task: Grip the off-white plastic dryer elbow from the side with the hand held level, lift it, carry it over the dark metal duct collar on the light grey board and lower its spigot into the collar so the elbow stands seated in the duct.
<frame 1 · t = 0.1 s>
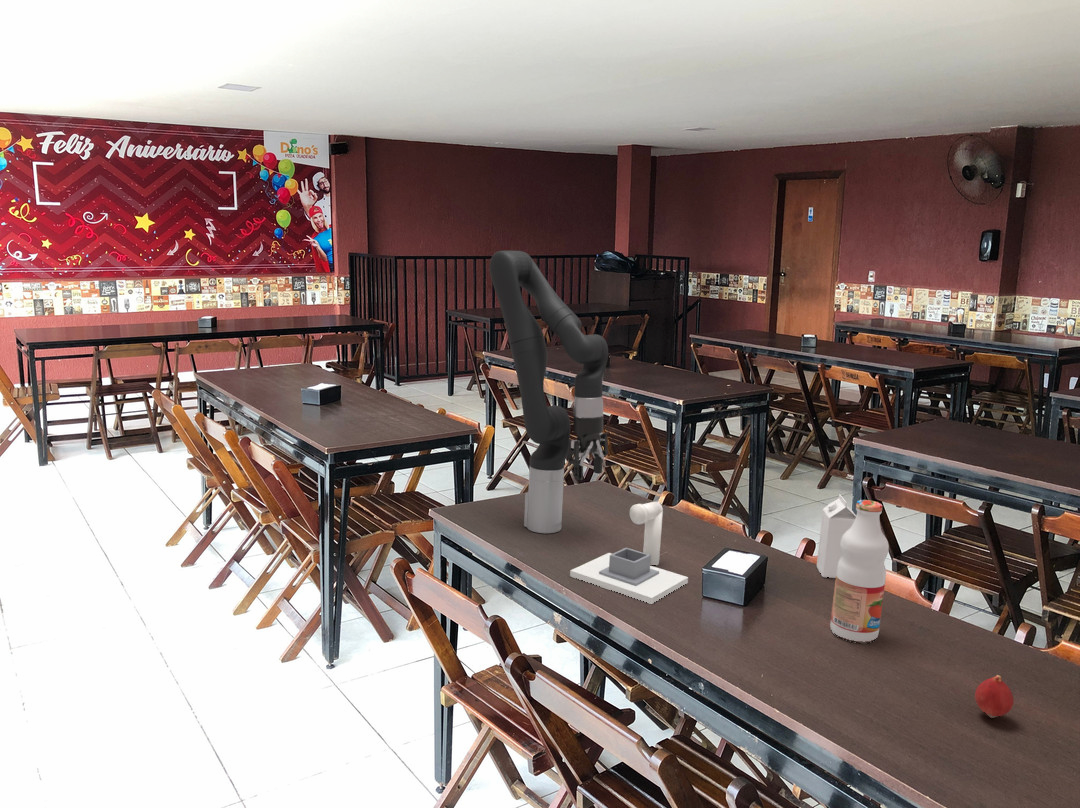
hand: (588, 476, 223), 17 cm above the table, tool pointing down, fingers open, 8 cm apart
fruit juice: (853, 634, 179), on the table
milk carton: (834, 574, 211), on the table
onion: (990, 718, 149), on the table
elbow: (650, 562, 213), on the table
duct: (628, 579, 202), on the table
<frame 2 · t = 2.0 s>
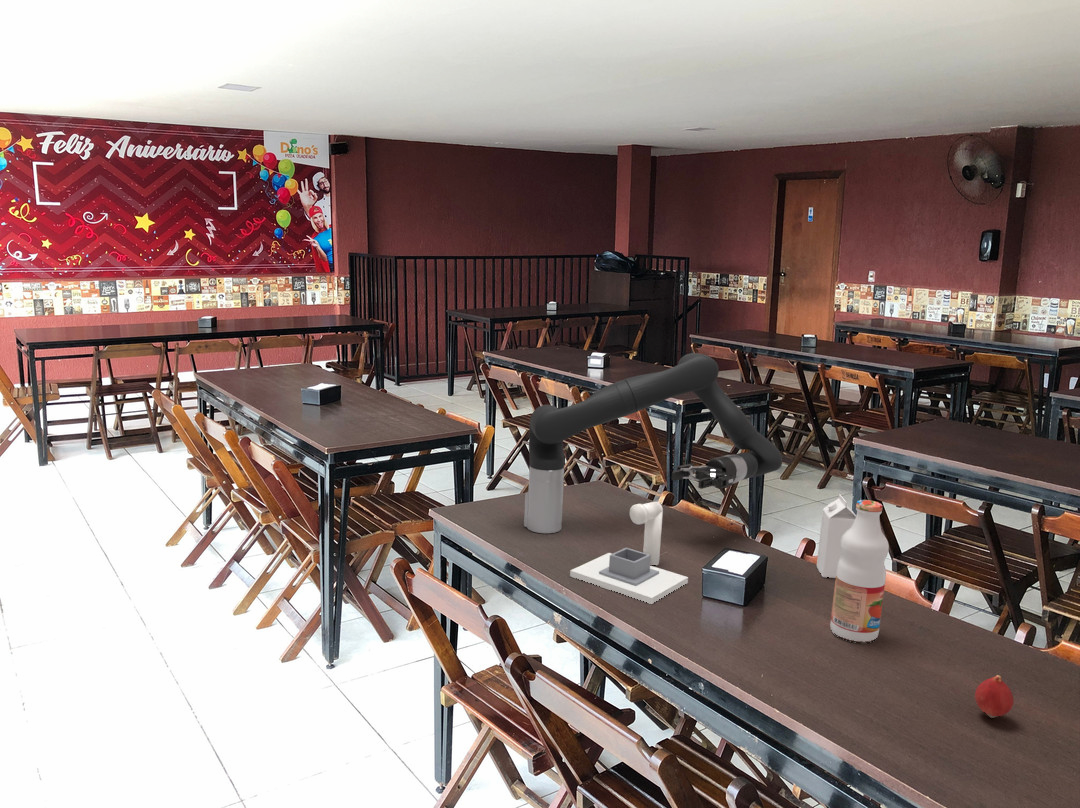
hand: (686, 480, 216), 19 cm above the table, tool horizontal, fingers open, 8 cm apart
nothing on the table moved.
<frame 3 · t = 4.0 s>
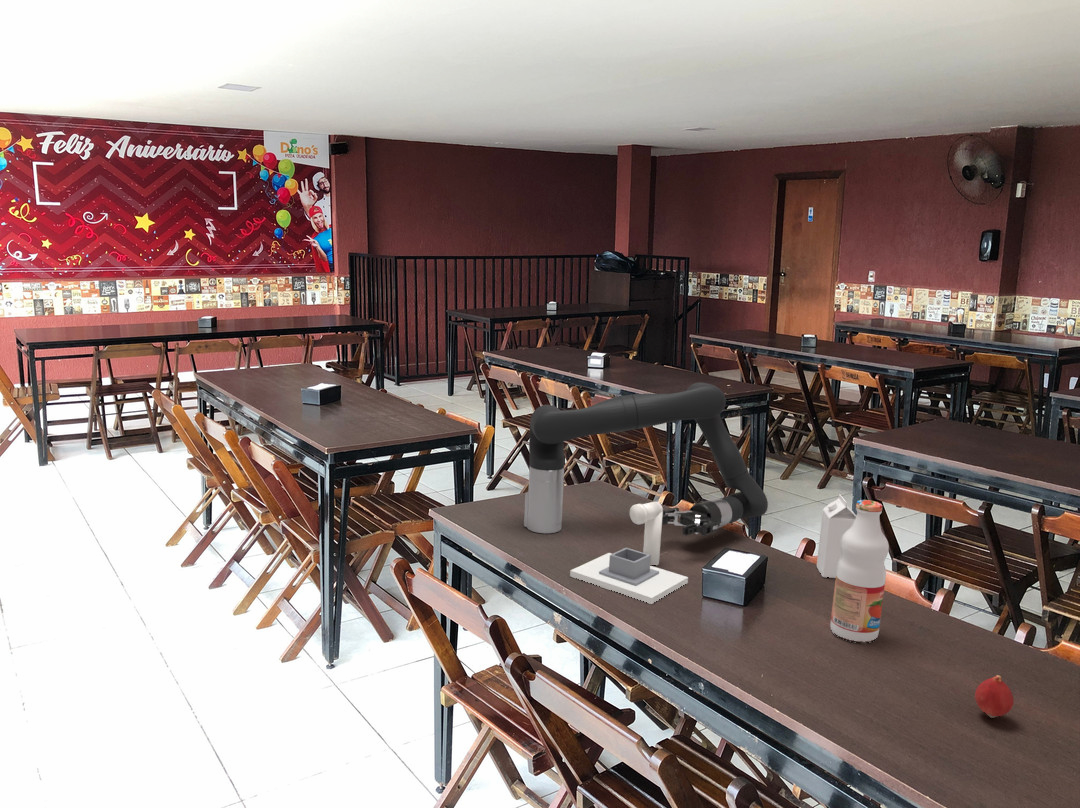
hand: (670, 526, 216), 8 cm above the table, tool horizontal, fingers open, 8 cm apart
nothing on the table moved.
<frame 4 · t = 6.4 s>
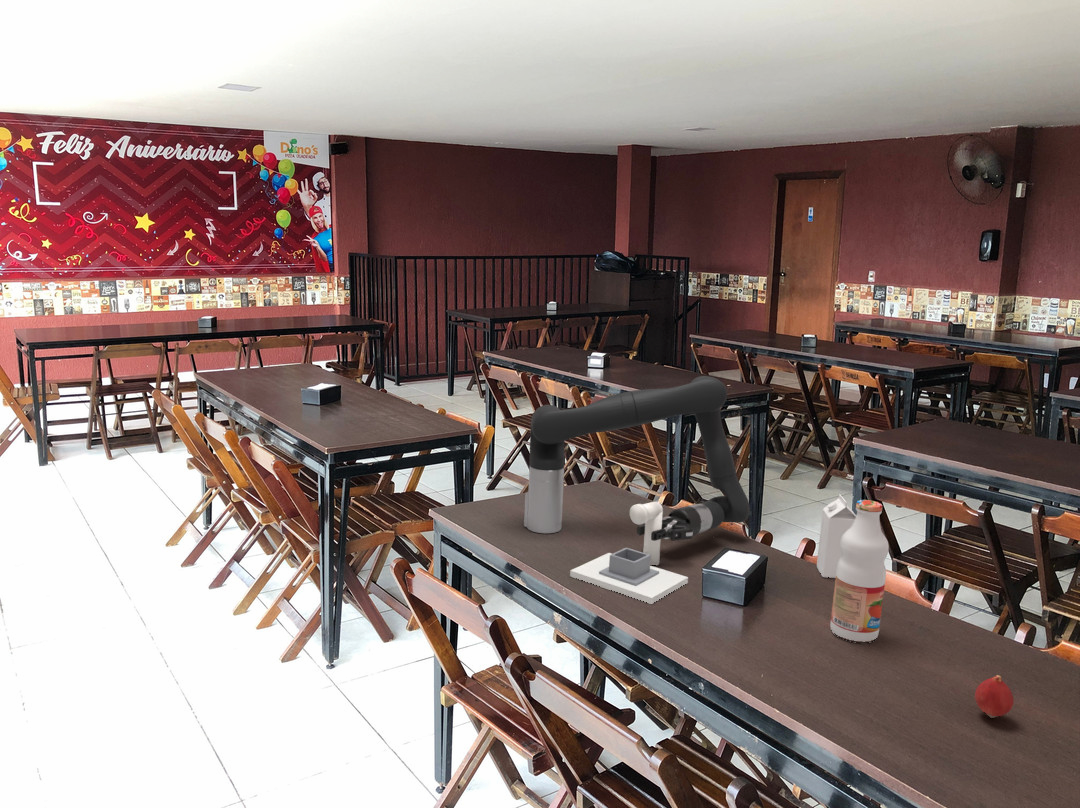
hand: (645, 533, 209), 8 cm above the table, tool horizontal, fingers closed on elbow, 4 cm apart
elbow: (650, 562, 213), on the table, touching gripper
everything else where it was.
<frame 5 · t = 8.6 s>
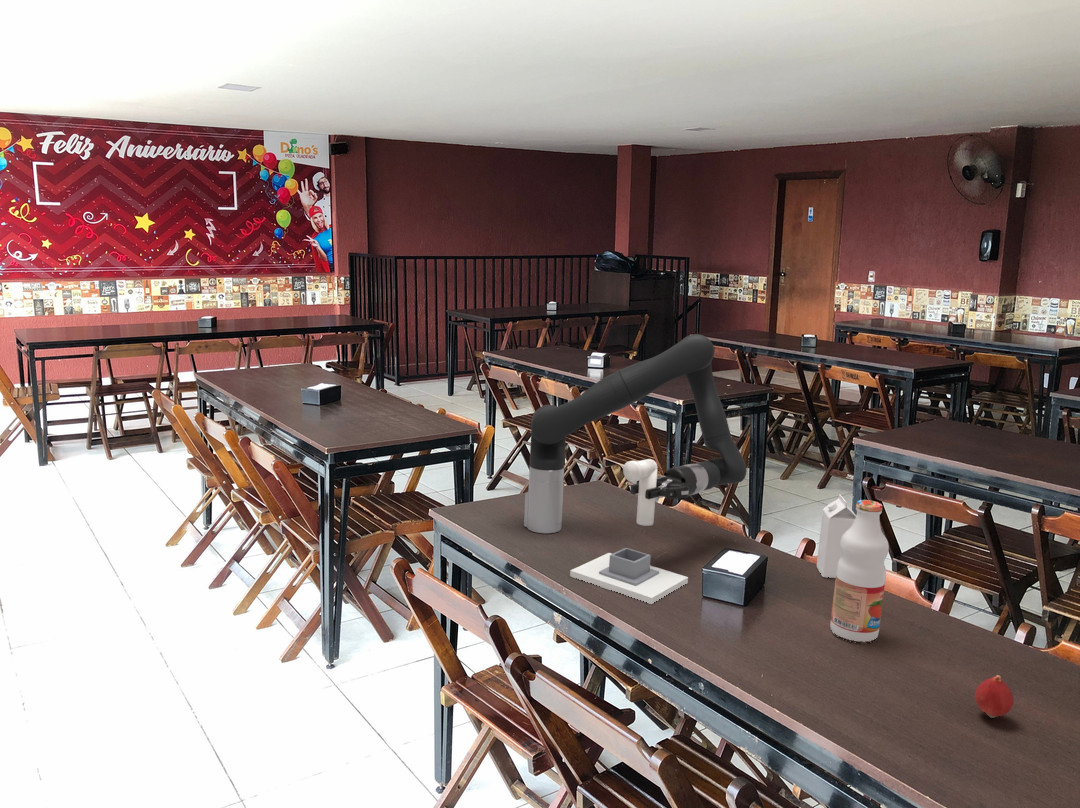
hand: (639, 492, 202), 20 cm above the table, tool horizontal, fingers closed on elbow, 4 cm apart
elbow: (644, 522, 206), point 12 cm above the table, touching gripper
everything else where it was.
when the fingers open (13 cm above the table, at t = 11.1 s): elbow drops 3 cm, resting on duct.
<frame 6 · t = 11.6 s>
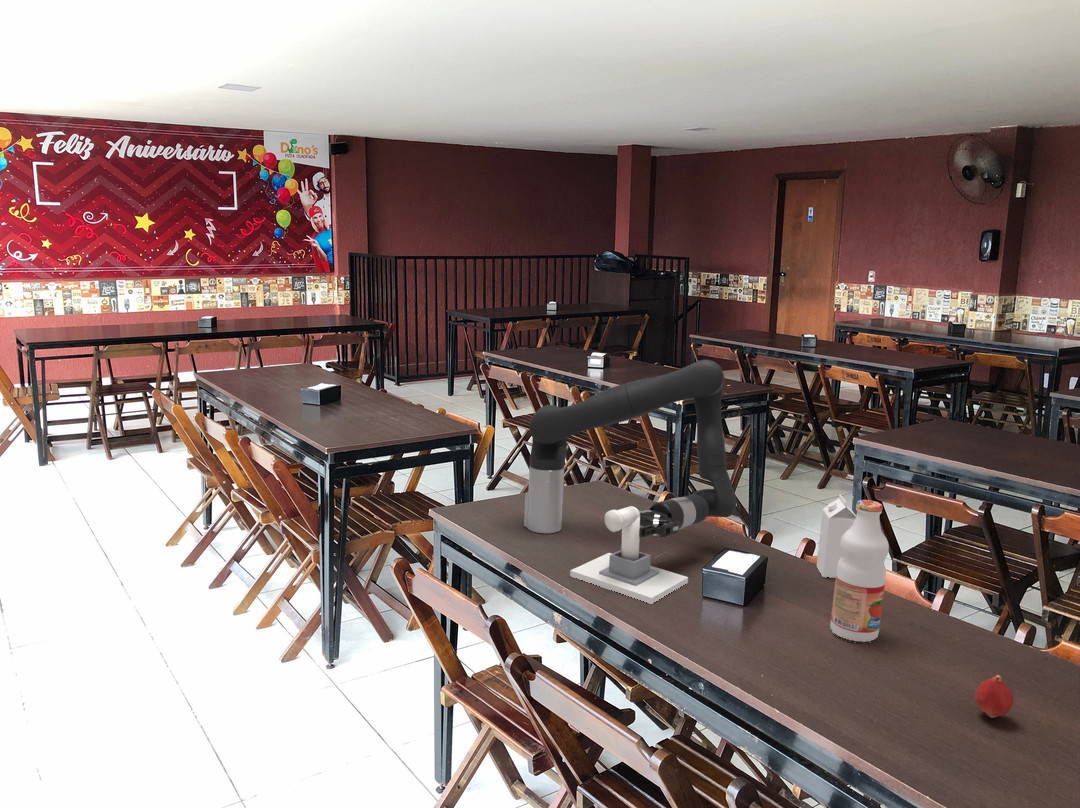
hand: (626, 527, 198), 13 cm above the table, tool horizontal, fingers open, 8 cm apart
elbow: (629, 570, 201), point 2 cm above the table, touching duct
everything else where it was.
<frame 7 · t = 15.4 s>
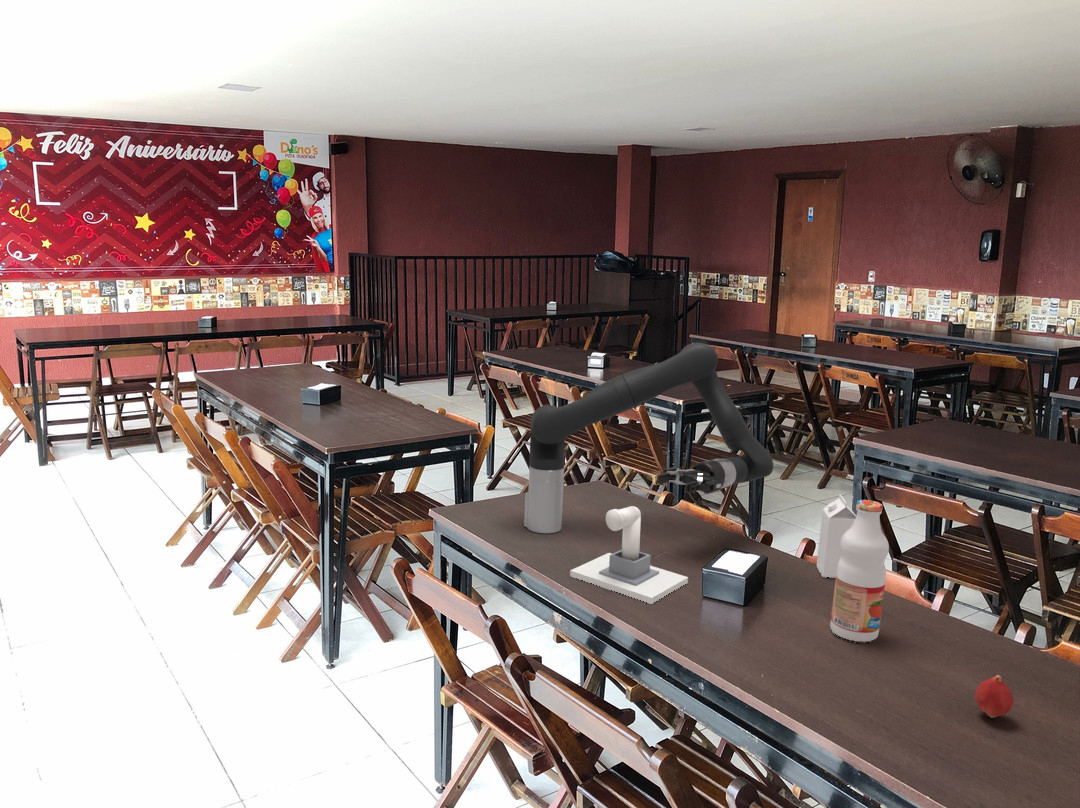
hand: (671, 484, 207), 21 cm above the table, tool horizontal, fingers open, 8 cm apart
nothing on the table moved.
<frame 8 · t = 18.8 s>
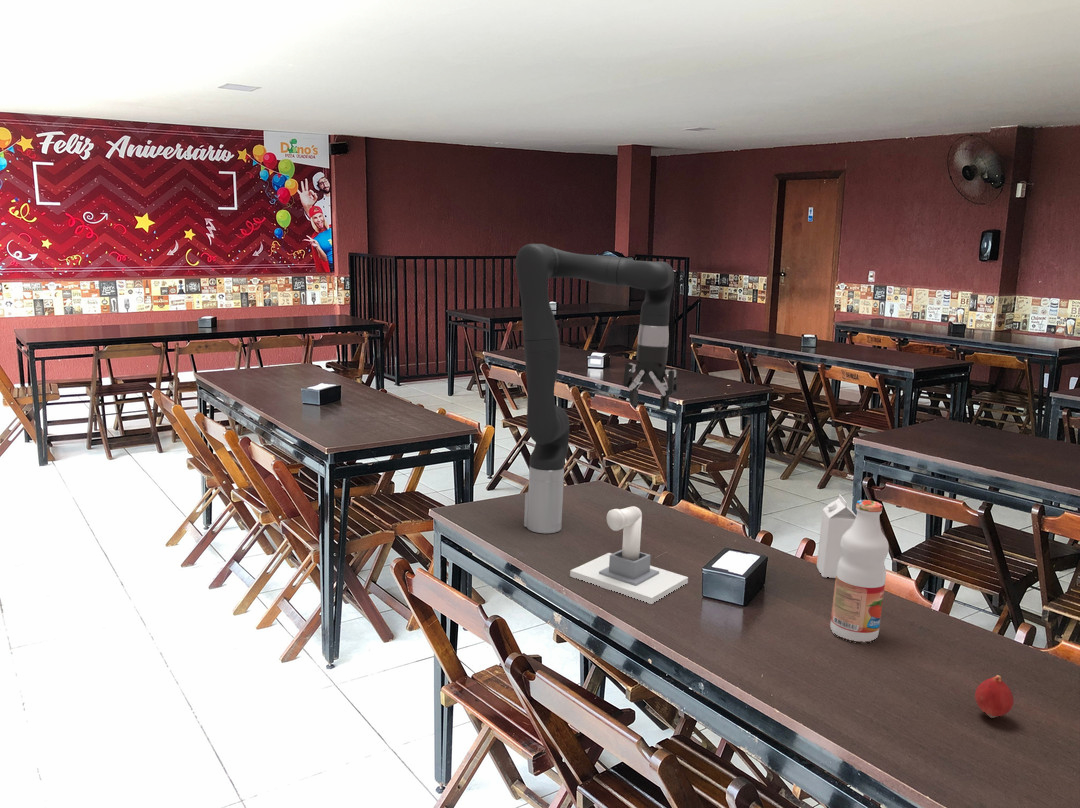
hand: (648, 407, 218), 36 cm above the table, tool pointing down, fingers open, 8 cm apart
nothing on the table moved.
at the end: elbow 0.3 cm off-centre on the duct, point 2.1 cm above the duct's base; elbow tilted 0°; the gripper is holding nothing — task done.
